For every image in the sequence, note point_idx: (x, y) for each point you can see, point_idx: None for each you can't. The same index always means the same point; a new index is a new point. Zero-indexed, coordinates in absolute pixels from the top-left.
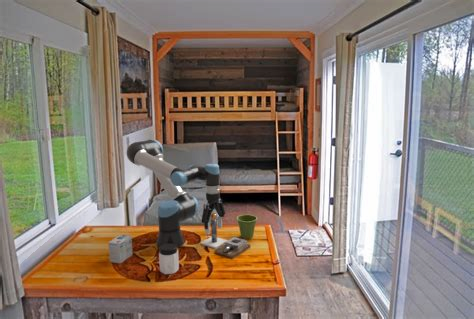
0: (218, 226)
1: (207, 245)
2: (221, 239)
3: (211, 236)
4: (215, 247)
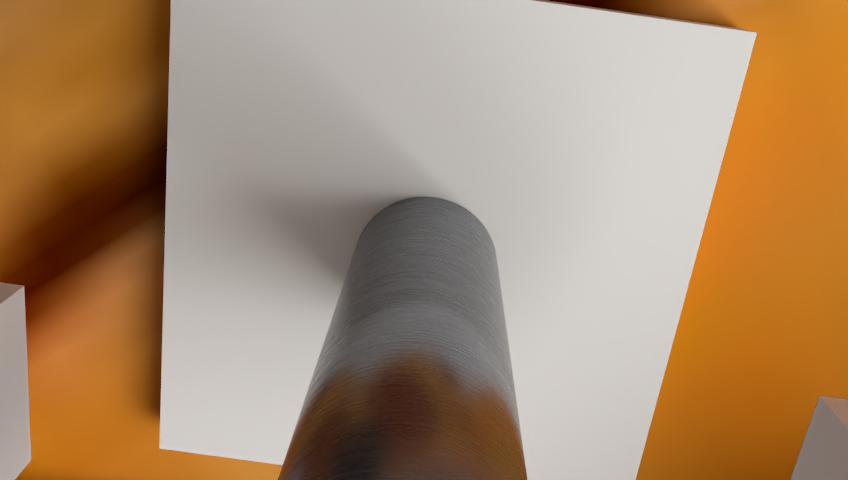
0: (832, 458)
1: (174, 202)
2: (616, 361)
3: (364, 266)
4: (163, 429)
